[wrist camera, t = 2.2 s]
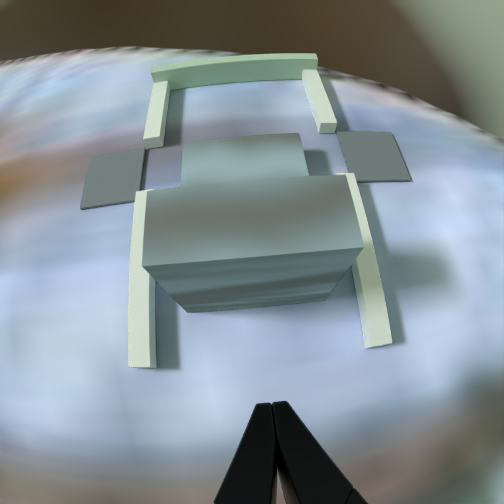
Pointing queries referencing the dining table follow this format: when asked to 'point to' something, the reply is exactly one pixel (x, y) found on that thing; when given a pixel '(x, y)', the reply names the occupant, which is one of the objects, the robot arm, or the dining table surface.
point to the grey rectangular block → (249, 226)
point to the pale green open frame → (139, 278)
